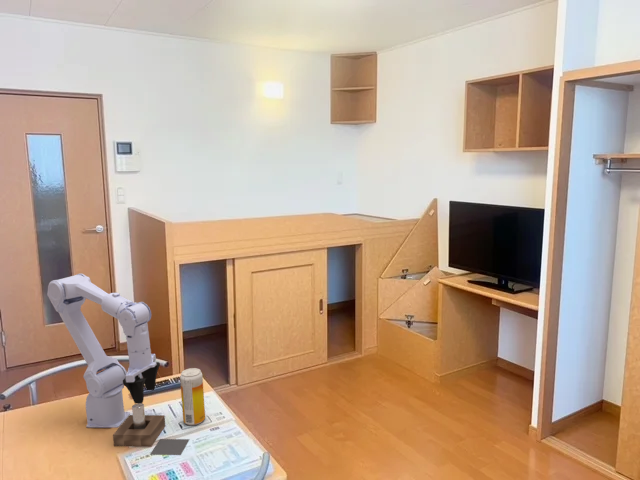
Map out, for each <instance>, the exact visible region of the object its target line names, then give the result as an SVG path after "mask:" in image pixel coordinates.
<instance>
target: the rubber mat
mask: <svg viewBox="0 0 640 480" xmlns="http://www.w3.org/2000/svg"><path fill="white" fill-rule="evenodd" d="M189 441H190V438H187V439H186V438H160V439H159V440H158V441H157V444H156V445H155V446H154V448H153V449H152V450H151V452H150V453H149V456H150V455H151V456H161V455H162V456H182V454H183V452H184V450H185V449H186V447H187V444H188V443H189Z"/></svg>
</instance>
